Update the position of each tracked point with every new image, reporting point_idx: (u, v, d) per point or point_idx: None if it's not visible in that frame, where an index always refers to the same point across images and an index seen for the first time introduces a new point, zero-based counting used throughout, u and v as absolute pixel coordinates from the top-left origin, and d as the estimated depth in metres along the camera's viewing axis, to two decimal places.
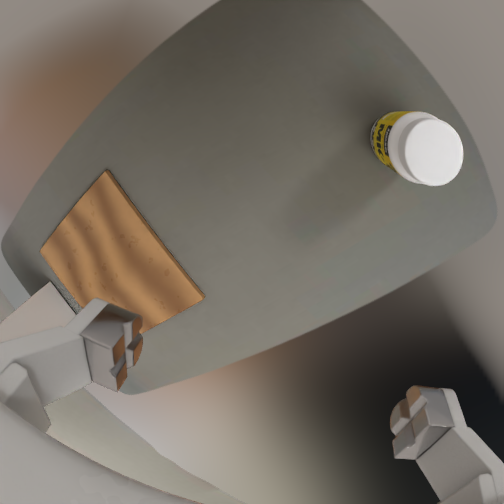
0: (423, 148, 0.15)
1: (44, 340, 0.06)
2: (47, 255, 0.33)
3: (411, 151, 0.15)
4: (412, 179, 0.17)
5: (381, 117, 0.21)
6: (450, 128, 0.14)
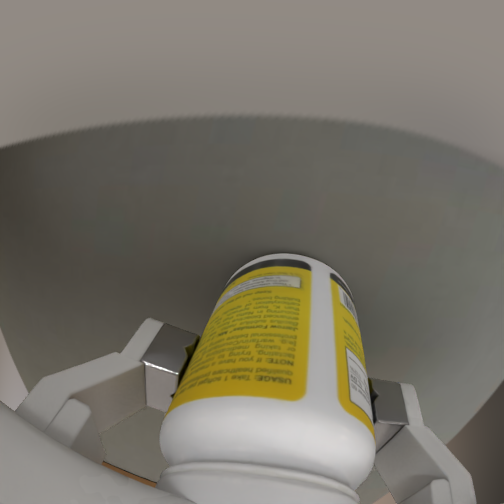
0: None
1: (102, 370, 0.06)
2: None
3: None
4: None
5: None
6: None
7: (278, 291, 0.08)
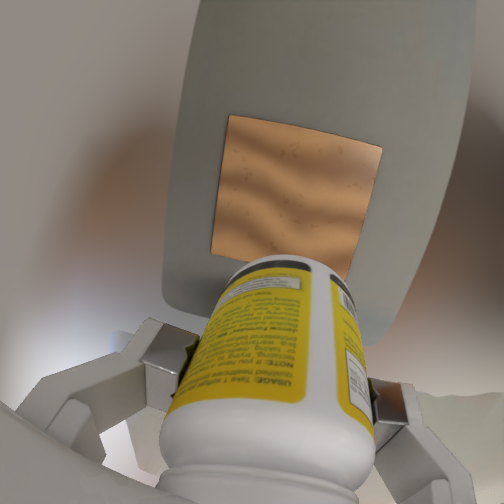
0: None
1: (102, 370, 0.06)
2: (221, 249, 0.36)
3: None
4: None
5: None
6: None
7: (278, 292, 0.08)
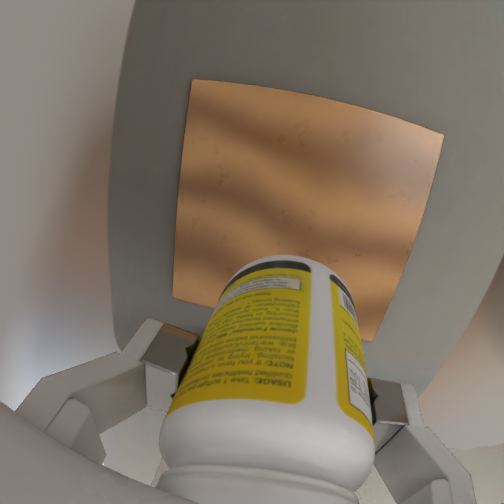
0: None
1: (102, 370, 0.06)
2: (188, 292, 0.23)
3: None
4: None
5: None
6: None
7: (278, 292, 0.08)
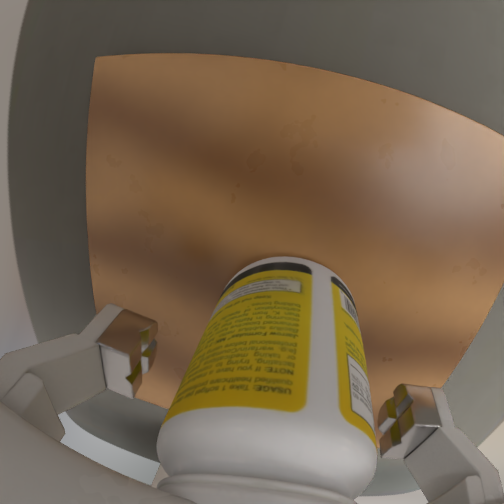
0: None
1: (59, 348, 0.06)
2: None
3: None
4: None
5: None
6: None
7: (278, 295, 0.08)
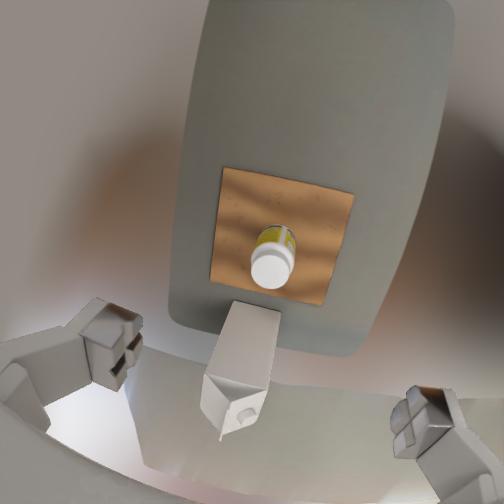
0: (263, 276, 0.32)
1: (44, 340, 0.06)
2: (219, 277, 0.43)
3: (260, 282, 0.33)
4: None
5: None
6: (265, 257, 0.31)
7: (274, 230, 0.36)
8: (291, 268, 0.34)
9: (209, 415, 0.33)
